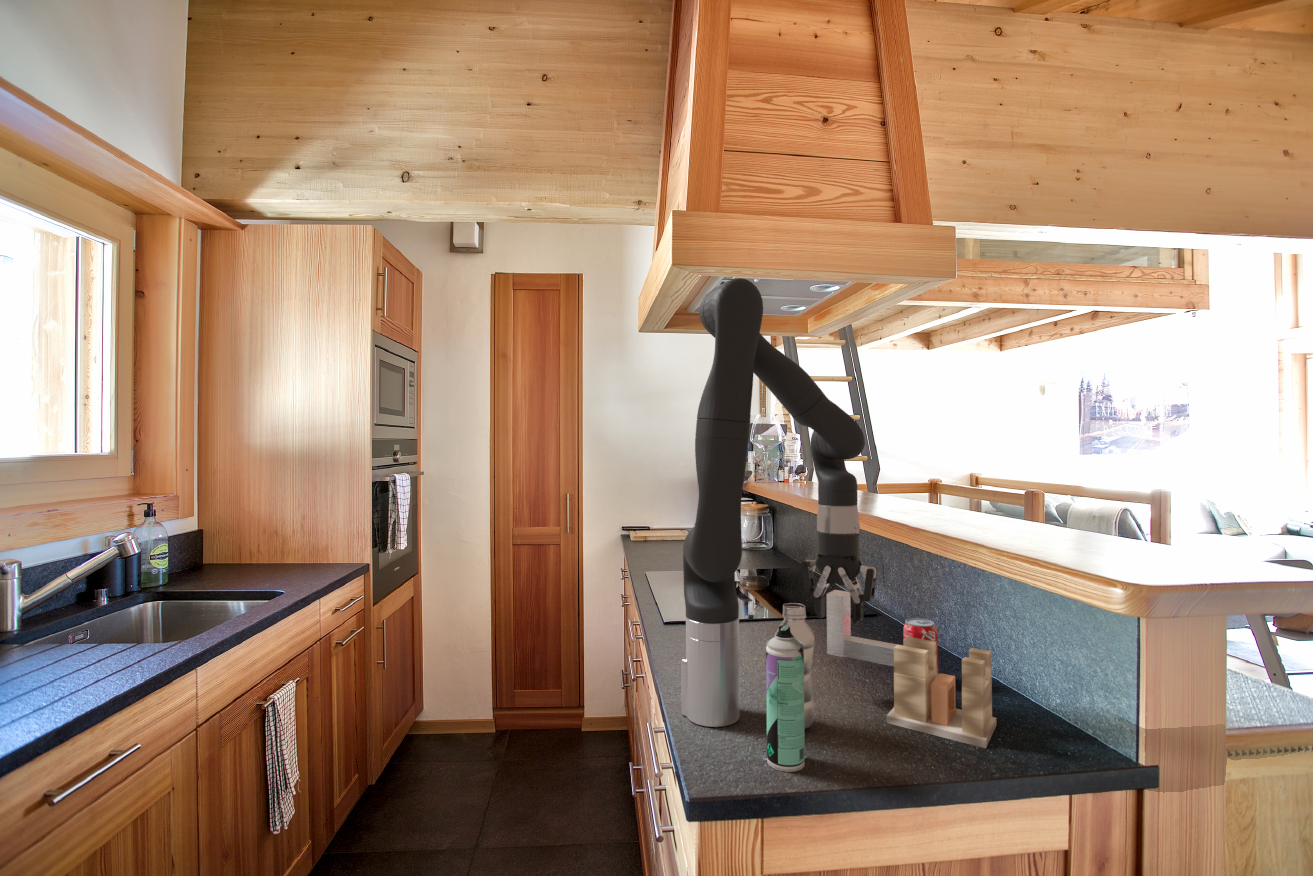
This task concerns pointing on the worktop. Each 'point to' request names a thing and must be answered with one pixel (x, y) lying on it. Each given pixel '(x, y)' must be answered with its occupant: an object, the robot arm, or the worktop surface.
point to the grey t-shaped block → (841, 634)
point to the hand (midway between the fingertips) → (838, 619)
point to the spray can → (785, 701)
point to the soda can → (921, 631)
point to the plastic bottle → (803, 633)
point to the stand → (915, 693)
